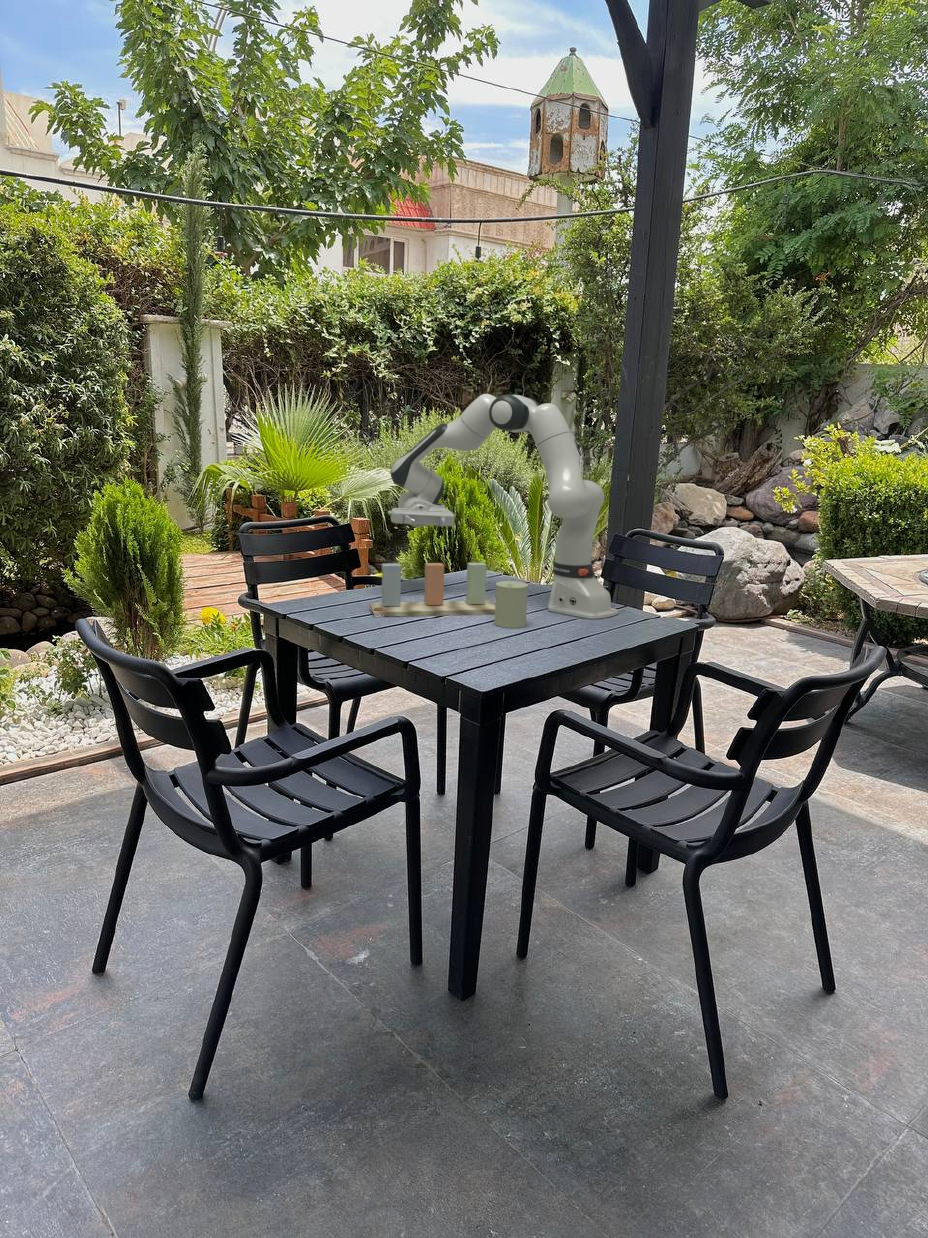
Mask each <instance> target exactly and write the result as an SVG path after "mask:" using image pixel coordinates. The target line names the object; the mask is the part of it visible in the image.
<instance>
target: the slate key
mask: <svg viewBox="0 0 928 1238" xmlns="http://www.w3.org/2000/svg"><path fill="white" fill-rule="evenodd" d="M401 580H402V566H401V564H400V563H397V562H396V563H394V562H391V563H381V603H382V604H383V606H400V602H402V601H401V593H402V592H401V582H402V581H401Z"/></svg>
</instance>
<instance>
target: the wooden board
mask: <svg viewBox="0 0 928 1238" xmlns="http://www.w3.org/2000/svg"><path fill="white" fill-rule="evenodd" d="M495 604H496V602H494V601H493V600H492V599H488V600H487V599H485V604H468V603H467V602H466V600H448V601H447V600H443V605H426V604H425V602H424V601H401V602H400V606H383V604H382V602H369V606H370V608H371V610H372V612H373V614H374V616H377V615H381V616H383V615H384V616H408V617H435V616H436V617H437V616H438V617H443V616H444V617H445V616H446V617H447V616H476V615H477V616H480V615H495ZM370 608H369V609H370ZM371 610H370V611H371ZM372 612H371V613H372ZM373 614H372V615H373ZM374 616H373V617H374Z"/></svg>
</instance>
